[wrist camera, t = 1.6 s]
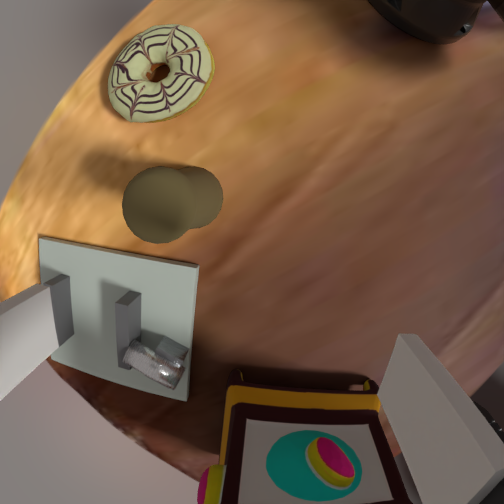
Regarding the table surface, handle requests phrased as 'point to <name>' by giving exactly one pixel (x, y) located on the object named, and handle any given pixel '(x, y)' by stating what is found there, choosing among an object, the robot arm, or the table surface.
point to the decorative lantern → (301, 448)
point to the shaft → (158, 361)
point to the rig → (117, 309)
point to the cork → (170, 202)
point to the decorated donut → (169, 89)
